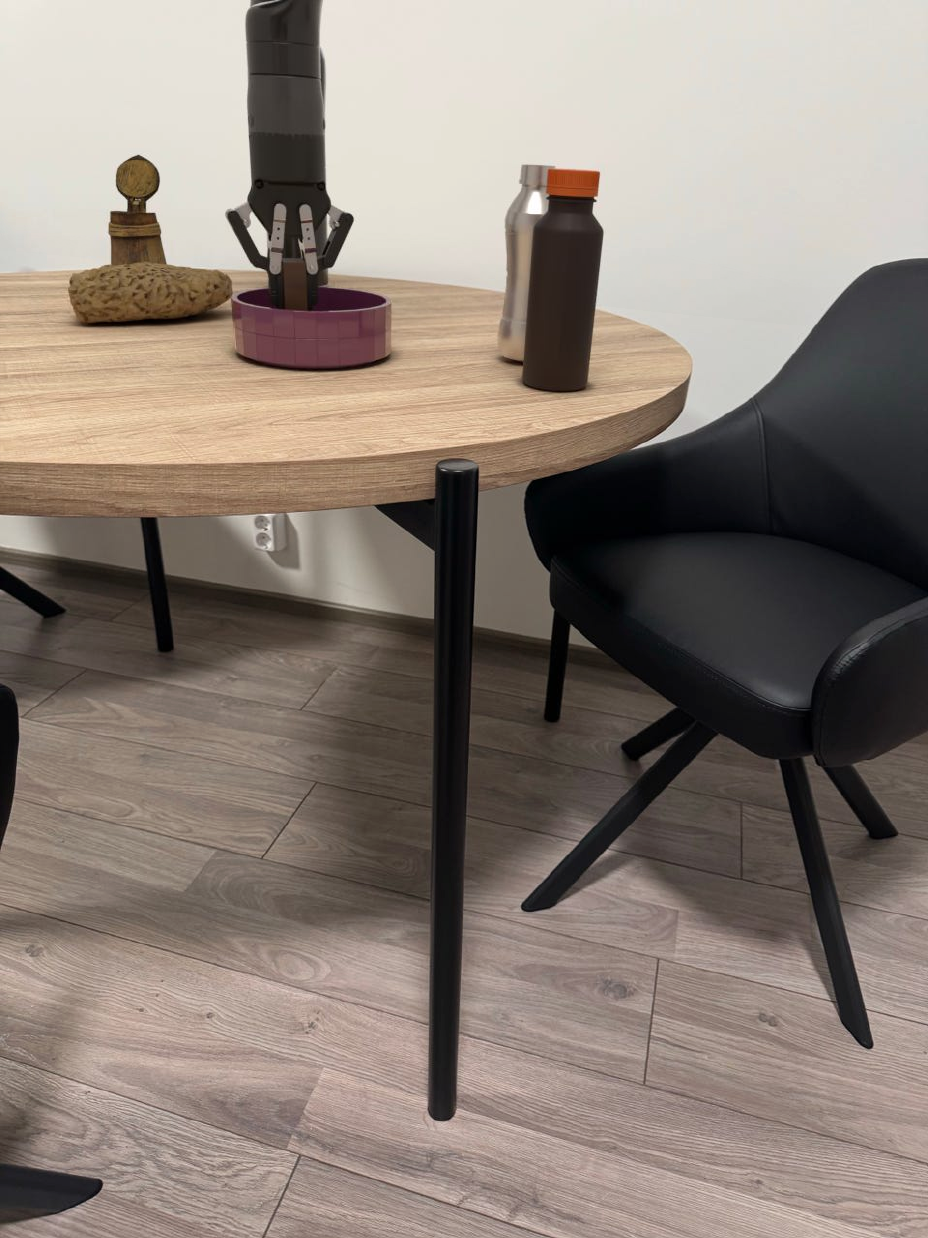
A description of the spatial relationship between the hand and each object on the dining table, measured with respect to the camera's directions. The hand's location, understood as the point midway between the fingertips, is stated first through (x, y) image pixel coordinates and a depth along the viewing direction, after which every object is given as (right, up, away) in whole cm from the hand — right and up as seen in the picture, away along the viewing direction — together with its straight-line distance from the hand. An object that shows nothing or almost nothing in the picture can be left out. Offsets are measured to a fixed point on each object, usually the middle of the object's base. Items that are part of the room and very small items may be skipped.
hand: (293, 308), depth 99 cm
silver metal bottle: (+25, -4, +5) cm, 26 cm away
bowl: (+2, -4, +3) cm, 5 cm away
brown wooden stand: (-28, +13, +33) cm, 45 cm away
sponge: (-21, +5, +17) cm, 27 cm away
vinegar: (+28, -10, -5) cm, 30 cm away
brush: (0, -4, +2) cm, 4 cm away
